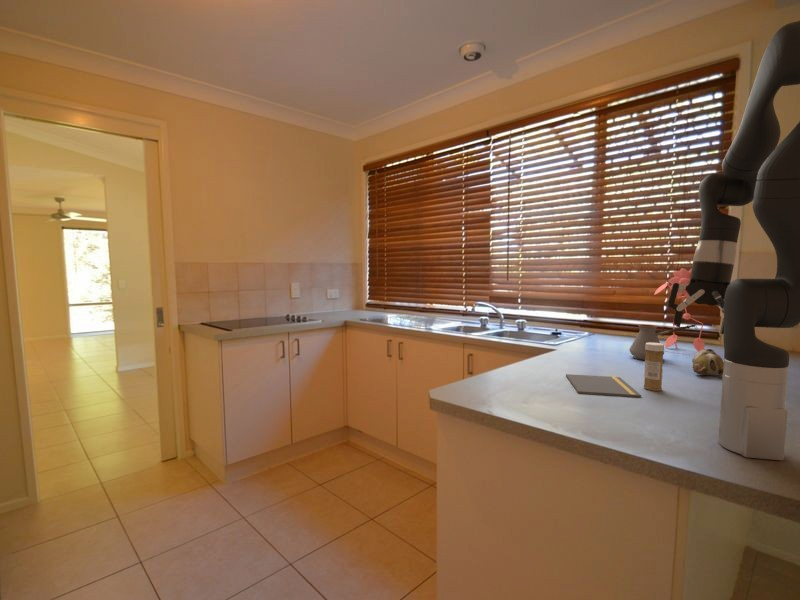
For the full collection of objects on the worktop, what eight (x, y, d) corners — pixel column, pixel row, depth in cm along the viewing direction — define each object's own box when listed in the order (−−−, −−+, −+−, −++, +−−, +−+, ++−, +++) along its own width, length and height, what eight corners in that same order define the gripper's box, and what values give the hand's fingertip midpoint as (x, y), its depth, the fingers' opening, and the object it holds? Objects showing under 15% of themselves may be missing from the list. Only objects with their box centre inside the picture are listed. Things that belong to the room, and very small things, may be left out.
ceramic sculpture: (723, 345, 134) (739, 357, 121) (721, 369, 135) (737, 384, 122) (685, 343, 139) (697, 354, 125) (683, 366, 140) (695, 380, 126)
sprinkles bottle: (664, 389, 114) (667, 343, 113) (657, 392, 111) (659, 345, 110) (647, 385, 118) (650, 341, 117) (640, 388, 115) (642, 342, 114)
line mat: (641, 397, 107) (641, 394, 107) (578, 393, 111) (578, 390, 111) (619, 379, 125) (619, 376, 125) (565, 376, 128) (566, 373, 128)
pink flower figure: (656, 344, 180) (661, 268, 177) (725, 355, 158) (731, 268, 155) (638, 348, 172) (642, 268, 169) (708, 359, 150) (714, 268, 147)
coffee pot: (624, 358, 153) (626, 319, 152) (635, 353, 161) (637, 317, 159) (690, 368, 137) (693, 326, 136) (699, 363, 144) (701, 323, 143)
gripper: (677, 257, 92) (664, 325, 93) (757, 264, 84) (742, 338, 86) (675, 259, 98) (663, 323, 100) (749, 265, 91) (735, 334, 92)
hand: (699, 330), depth 93 cm, fingers open, 8 cm apart
